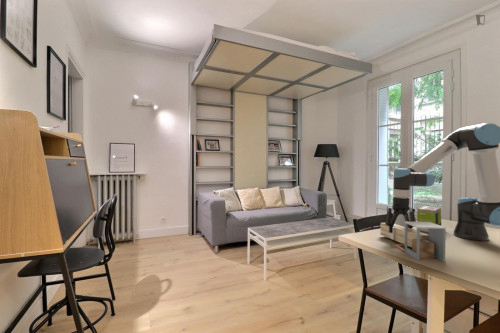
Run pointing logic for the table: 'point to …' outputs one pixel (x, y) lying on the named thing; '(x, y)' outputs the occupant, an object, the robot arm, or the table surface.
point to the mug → (402, 220)
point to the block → (424, 248)
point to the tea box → (429, 215)
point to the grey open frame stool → (434, 235)
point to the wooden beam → (401, 234)
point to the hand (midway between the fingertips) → (399, 238)
